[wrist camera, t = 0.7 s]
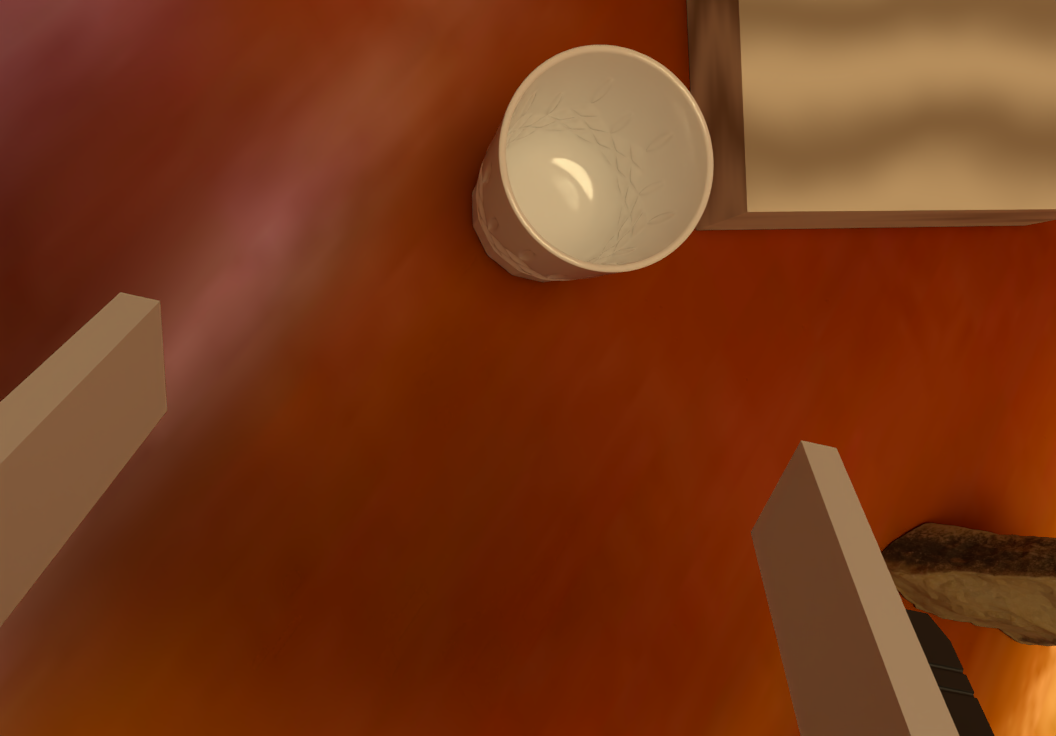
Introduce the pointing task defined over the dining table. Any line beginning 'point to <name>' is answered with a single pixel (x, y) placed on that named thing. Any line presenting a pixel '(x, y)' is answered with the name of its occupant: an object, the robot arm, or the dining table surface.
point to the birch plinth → (876, 112)
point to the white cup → (593, 168)
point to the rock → (979, 578)
